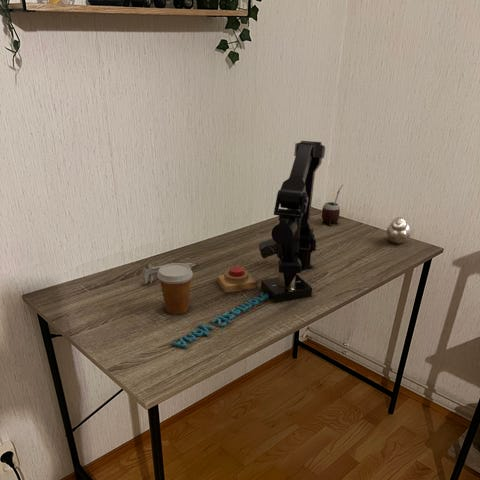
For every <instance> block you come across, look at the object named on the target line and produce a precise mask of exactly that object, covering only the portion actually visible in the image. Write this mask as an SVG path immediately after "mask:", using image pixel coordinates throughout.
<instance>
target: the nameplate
mask: <svg viewBox="0 0 480 480" xmlns="http://www.w3.org/2000/svg"><path fill="white" fill-rule="evenodd" d="M267 299H269V295H268V294H265V293H264V292H263V291H262V292H261V293H260V294H259V297H258V296H254V297H253V298H250V299H249V300H248V302H247V301H245V302H243V304H242V303H241V304H240V306H236V307H234V308H232V309H231V310H230V312H229V311H226V312H225V313H222V315H219V316H218V317H216V318H213V319H212V320H211V324H214V323H215V322H218V323H217V326H218V327H219V328H220V327H221V328H223V327H226V326H227V323H228V324H230V323H231V320H233V319H234V318H235V317H236V316H239V315H241V312H242V313H244V312H246V311H248V309H252V307H253V306H258V304H259V302H261V303H262V302H263V301H265V300H267ZM230 313H231V314H230ZM222 321H224V322H223V323H222ZM214 329H215V326H211V325H206V324H201V323H199V324H198V325H197V328H196V329H193V331H192V333H190V332H188V333H187V336H186V335H182V337H179V341H177V342H175V341H172V342H171V343H170V345H171V346H175V347H179V348H183V349H187V348H188V343H186V341H187V342H189V343H192V342H193V341H195V340H196V339H197V338H196V337H203V336H206V337H209V336H210V333H209V330H211V331H213V330H214Z"/></svg>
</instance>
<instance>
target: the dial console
mask: <svg viewBox="0 0 480 480" xmlns="http://www.w3.org/2000/svg"><path fill="white" fill-rule="evenodd" d="M260 290H261V291H262V293H263V292H264V295H265V294H268V295H269V297H268V299H270V301H272V302H273V303H274V304H279V303H285V302H290V301H295V300H301V299H306V298H311V297H312V294H313V287H312V286H311V285H310V284H308V282H306V281H305V280H304V279H303V278H302V277H300V276H299V274H298V273H297V274H296V280H295V285H294V286H293V287H288V288H286V287H281V286H279V285H278V276H277V277H271V278H266V279H261V280H260Z"/></svg>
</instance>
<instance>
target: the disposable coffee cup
mask: <svg viewBox="0 0 480 480" xmlns="http://www.w3.org/2000/svg"><path fill="white" fill-rule="evenodd" d="M185 264H186V263H180V262H174V263H167V264H164V265H161V266H162V267H161V268H160V269H159V272H158V274H157V275H156V276H157V278H158V280H159V284H160V289H161V292H162V298H163V302H164V306H165V310H166V312H167V313H169V314H173V315H179V314H180V315H181V314H184V313H186V312H188V310H189V306H190V296H191V295H190V294H191V283H192V278H193V276H194V272H193V270H192V268H190V267H189V266H188V265H185Z"/></svg>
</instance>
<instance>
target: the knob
mask: <svg viewBox="0 0 480 480" xmlns="http://www.w3.org/2000/svg"><path fill="white" fill-rule="evenodd" d="M277 277H278V285H279V286H281V287H286V286H285V281H284V274H283V273H280V272H279V270H277ZM295 280H296V276H295V277H294V279H293V281H292V282H291V284H290V286H289V287H293V286H294V285H295ZM286 288H288V287H286Z"/></svg>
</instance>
